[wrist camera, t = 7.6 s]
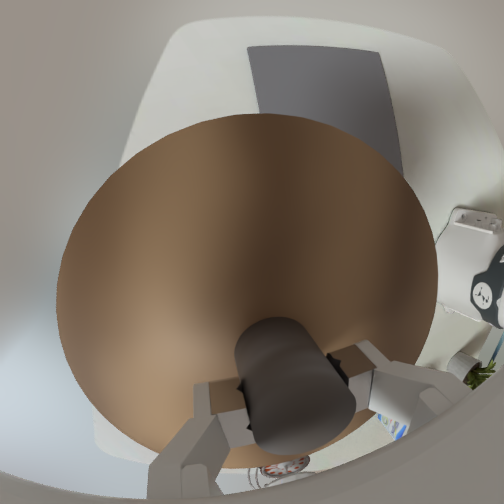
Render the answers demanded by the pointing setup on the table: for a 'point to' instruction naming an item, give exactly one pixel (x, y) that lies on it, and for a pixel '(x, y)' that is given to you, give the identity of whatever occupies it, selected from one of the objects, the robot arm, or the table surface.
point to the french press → (284, 471)
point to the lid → (245, 280)
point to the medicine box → (393, 427)
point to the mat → (329, 91)
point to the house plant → (469, 369)
